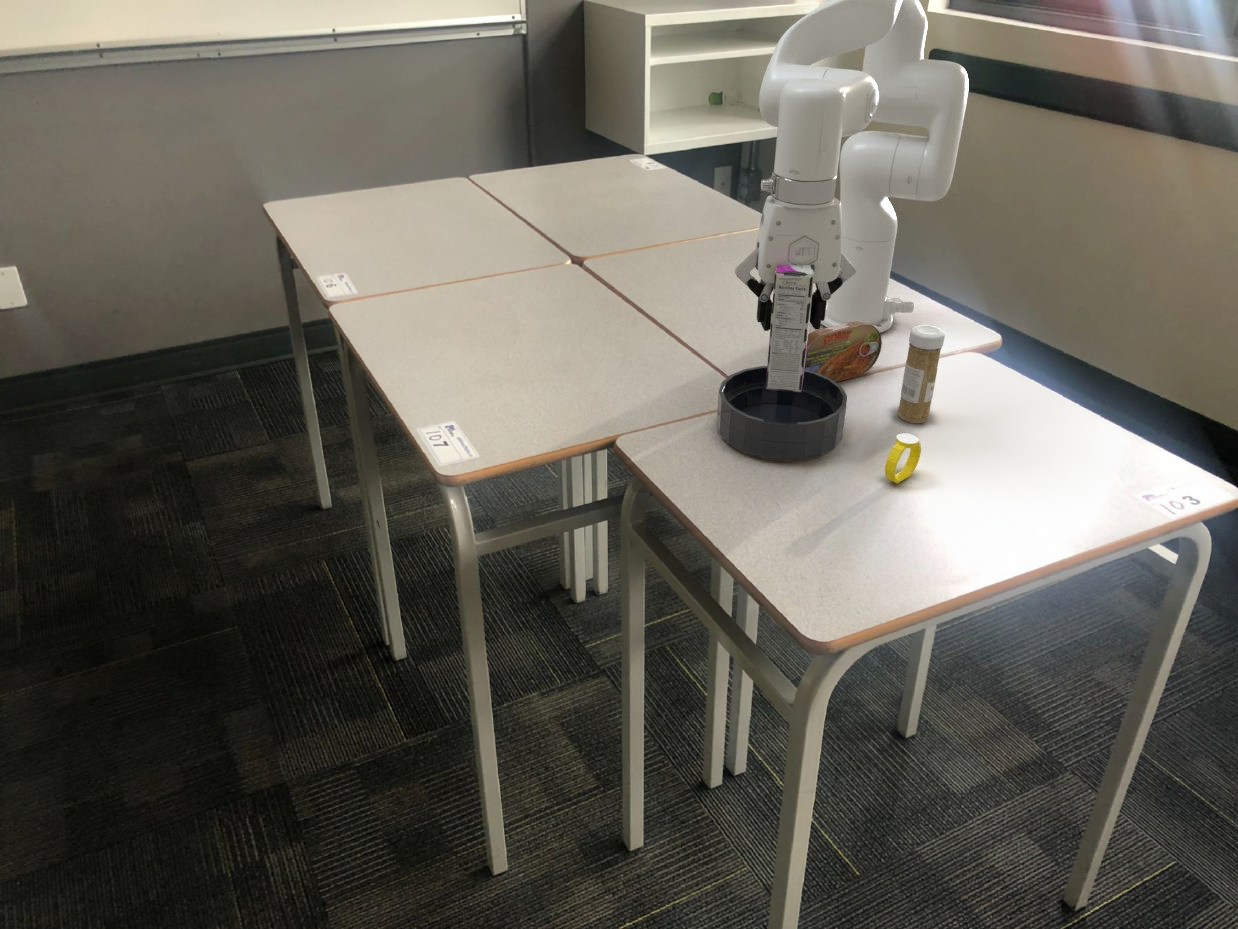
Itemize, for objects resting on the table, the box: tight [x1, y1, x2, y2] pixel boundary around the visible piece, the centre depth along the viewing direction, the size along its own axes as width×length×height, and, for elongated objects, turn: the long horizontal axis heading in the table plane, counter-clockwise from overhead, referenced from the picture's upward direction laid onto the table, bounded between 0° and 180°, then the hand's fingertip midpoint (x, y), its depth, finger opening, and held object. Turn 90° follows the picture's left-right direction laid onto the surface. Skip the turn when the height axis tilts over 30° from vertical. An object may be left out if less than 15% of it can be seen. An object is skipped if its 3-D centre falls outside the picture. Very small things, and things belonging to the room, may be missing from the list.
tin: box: [804, 321, 883, 383], centre depth 150 cm, size 15×3×8 cm, turn 117°
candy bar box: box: [766, 264, 815, 392], centre depth 129 cm, size 11×5×16 cm, turn 169°
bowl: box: [716, 365, 848, 462], centre depth 136 cm, size 17×17×6 cm
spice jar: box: [896, 324, 946, 424], centre depth 138 cm, size 5×5×13 cm
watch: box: [884, 432, 922, 484], centre depth 126 cm, size 6×3×6 cm, turn 133°
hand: (789, 324), depth 130 cm, fingers closed on candy bar box, 5 cm apart
